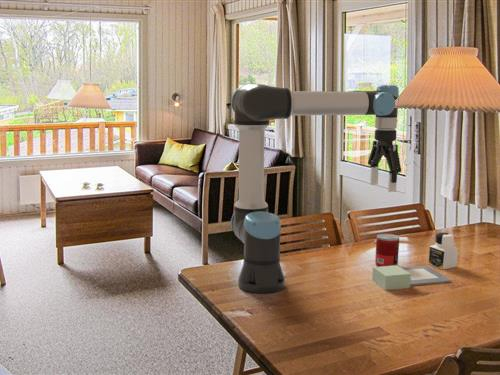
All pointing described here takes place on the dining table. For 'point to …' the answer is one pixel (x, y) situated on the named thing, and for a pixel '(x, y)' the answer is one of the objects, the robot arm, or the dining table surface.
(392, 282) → the block
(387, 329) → the dining table surface
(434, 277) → the plate
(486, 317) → the dining table surface
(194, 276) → the dining table surface
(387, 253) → the canned food
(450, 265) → the medicine bottle
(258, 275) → the robot arm
